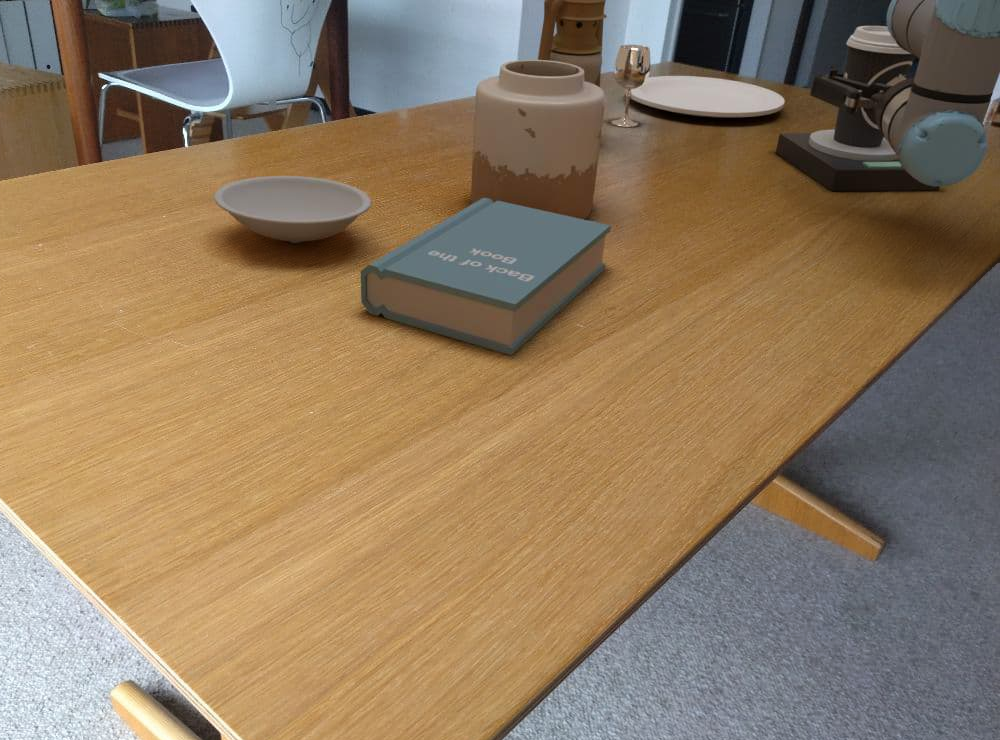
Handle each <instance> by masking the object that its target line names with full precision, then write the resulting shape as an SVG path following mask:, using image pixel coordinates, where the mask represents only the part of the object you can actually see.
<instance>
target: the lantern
mask: <svg viewBox="0 0 1000 740" xmlns="http://www.w3.org/2000/svg"><path fill="white" fill-rule="evenodd" d="M606 1H607V0H544V1H543V13H544V14H543V22H542V28H541V34H540V35H541V36H540V42H539V49H538V55H537V60H548V61H557V62H564V63H569V64H573V65H576V66H579V67H581V68H582V69H583V70H584V81H586V82H589V83H592V84H594V85H596V86H598V87H600V88H601V77H602V75H601V73H602V65H603V56H602V54H603V52H602V51H603V40H604V39H603V36H604V19H606V18H607V17H608V15H607V14H606V13H605V6H606ZM555 27H556V28H555ZM555 29H556V33H555Z"/></svg>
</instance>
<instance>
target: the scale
mask: <svg viewBox="0 0 1000 740" xmlns="http://www.w3.org/2000/svg"><path fill="white" fill-rule="evenodd" d="M834 133H835V129H821V130H817V131H814V132H812V133H811V132H810V133H808V132H806V133H804V132H803V133H795V132H793V133H792V132H790V133H789V132H788V133H786V132H785V133H781V132H780V133H779V136H778V140H777V144H776V149H775V154H776V155H778V156H779V157H781V158H782V159H784V160H785V161H787V162H788V163H790V164H791V165H792V166H794V167H795V168H796V169H798V170H800V171H801V172H803V173H804V174H806V175H807V176H808V177H810V178H811V179H813V180H814V181H816V182H818V183H819V184H820V185H822V186H823V187H824V188H826V189H828V190H829V191H830V192H876V191H877V192H887V191H888V192H891V191H892V192H893V191H895V192H896V191H899V192H900V191H902V192H904V191H906V192H907V191H910V192H911V191H939V190H940V187H941V186H936V187H933V186H930V185H926V184H923V183H921V182H919V181H918V180H916V179H915V178H913V177H912V176H911V175H910V174H909V173H908V172H906V171H905V169H904V168H902V166H901V164H900V162H899V158H898V156H897V155H896V153H895V152H894V150H893V149H892V147H891V146H890V144H889V143H888V141H887V140H886V139H885V137H884V138H883V140H882V143H881V145H880V146H878V147H872V148H864V147H854V146H849V145H845V144H842V143H839V142H837V141H835V140H834Z"/></svg>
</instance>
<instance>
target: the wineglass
mask: <svg viewBox="0 0 1000 740" xmlns="http://www.w3.org/2000/svg"><path fill="white" fill-rule="evenodd" d="M650 49H651V48H650V47H649V46H645V45H639V44H622V45H620V46H619V49H618V52H617V54H616V57H615V61H614V66H613V67H614V68H613V78H614V80H615V82H616V84H618V85H619V86H620V87H622V88H624V89H625V90H626V89H628V90H627V92H625V96H624V97H625V107H624V114H623V116H622V117H621V118H617V119H613V120H611V124H612V125H614V126H616V127H617V126H618V127H622V128H633V127H637V126H639V123H638V122H637V121H636V120H632V119H630V118H629V105H630V101H631V100H632V99H631V96H632V92H631V89H635V88H638V87H640V86H642V85H643V84H644V83H645V82H646V81H647V79H648V77H650V72H651V51H650Z"/></svg>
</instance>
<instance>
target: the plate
mask: <svg viewBox="0 0 1000 740" xmlns="http://www.w3.org/2000/svg"><path fill="white" fill-rule="evenodd" d="M627 90H628V89H626V88H625V93H626V92H627ZM631 92H632V96H631V99H630V100H633V101H635V102H637V103H639V104H642V105H644V106H648V107H651V108H655V109H659V110H662V111H666V112H668V113H669V112H670V113H674V114H680V115H683V116H691V117H696V118H712V119H732V118H733V119H734V118H752V117H760V116H761V117H762V116H767V115H771V114H776V113H778V112H780V111H782V110H783V108H784V106H785V103H786V101H785V99H784V97H783V96H782V95H781V94H779V93H777V92H776V91H773V90H772V89H769V88H765V87H762V86H759V85H755V84H751V83H747V82H743V81H737V80H731V79H725V78H719V77H718V78H717V77H707V76H695V75H693V76H692V75H658V76H649V77H648V79H647V81H646V82H645V83H644V84H643V85H642V86H640V87H638V88H635V89H631Z"/></svg>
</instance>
